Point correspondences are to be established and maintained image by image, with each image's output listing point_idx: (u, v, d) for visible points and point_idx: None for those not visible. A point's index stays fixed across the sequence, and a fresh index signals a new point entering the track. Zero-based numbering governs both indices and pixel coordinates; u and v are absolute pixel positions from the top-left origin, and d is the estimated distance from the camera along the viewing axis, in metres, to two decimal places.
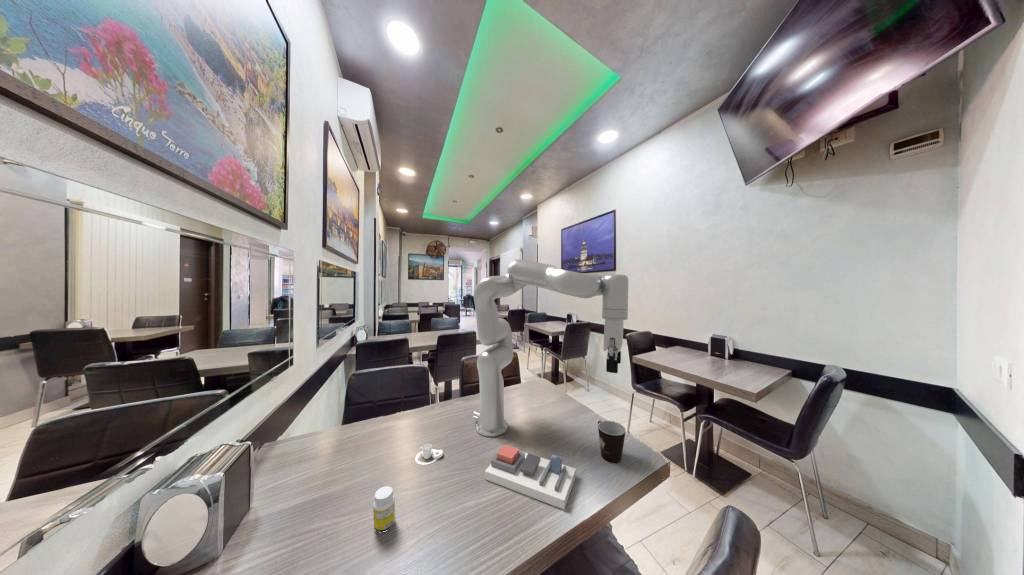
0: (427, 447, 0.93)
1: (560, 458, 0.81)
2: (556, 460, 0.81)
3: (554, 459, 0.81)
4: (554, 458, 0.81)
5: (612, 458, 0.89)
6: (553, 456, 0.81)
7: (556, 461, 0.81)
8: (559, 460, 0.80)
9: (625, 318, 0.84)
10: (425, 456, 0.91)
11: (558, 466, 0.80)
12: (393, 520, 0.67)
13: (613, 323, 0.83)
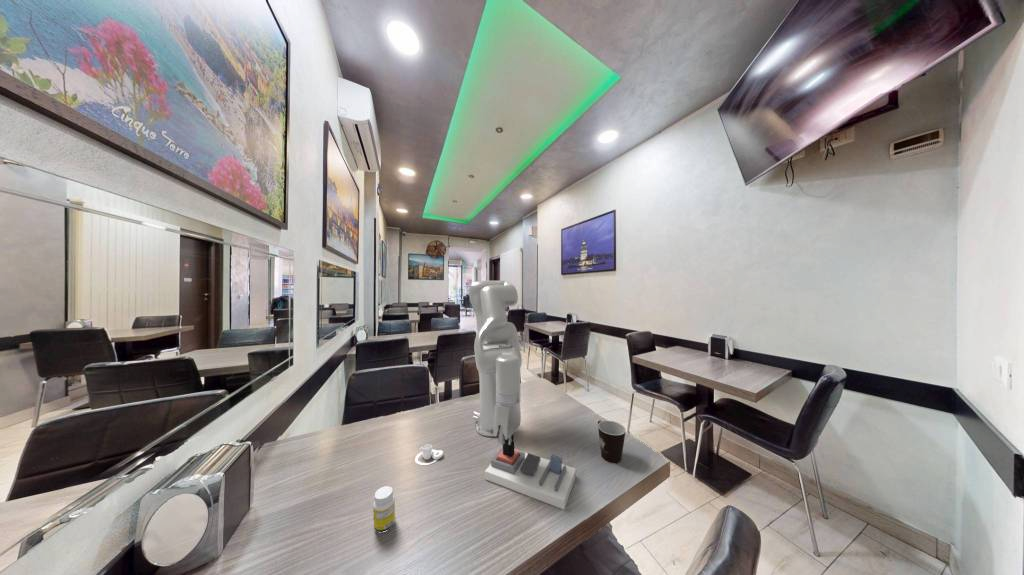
0: (427, 447, 0.93)
1: (560, 458, 0.81)
2: (556, 460, 0.81)
3: (554, 459, 0.81)
4: (554, 458, 0.81)
5: (612, 458, 0.89)
6: (553, 456, 0.81)
7: (556, 461, 0.81)
8: (559, 460, 0.80)
9: (515, 403, 0.82)
10: (425, 456, 0.91)
11: (558, 466, 0.80)
12: (393, 520, 0.67)
13: (501, 410, 0.81)
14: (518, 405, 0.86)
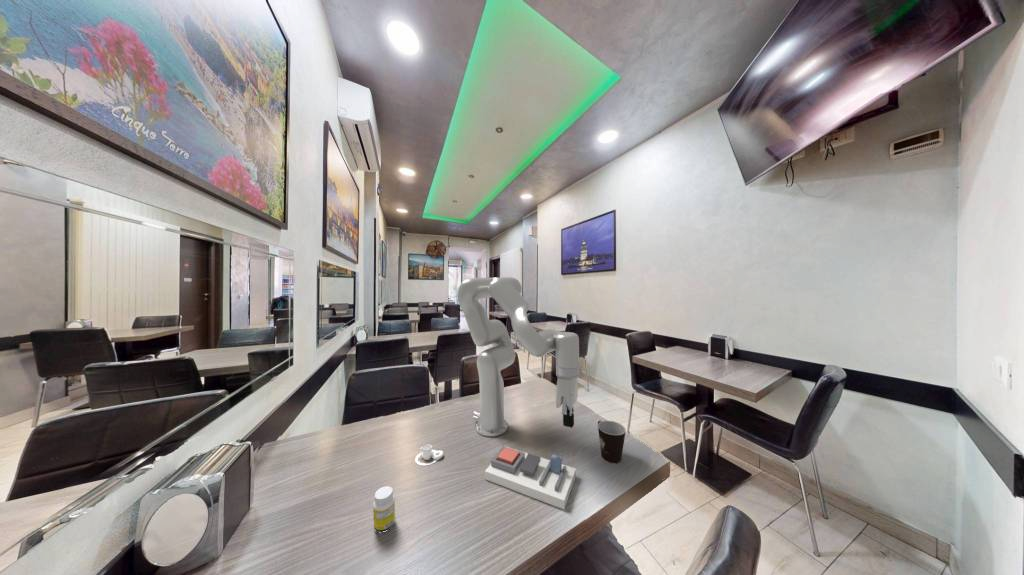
0: (427, 448, 0.93)
1: (560, 458, 0.81)
2: (556, 460, 0.81)
3: (554, 459, 0.81)
4: (554, 458, 0.81)
5: (612, 458, 0.89)
6: (553, 456, 0.81)
7: (556, 461, 0.81)
8: (559, 460, 0.80)
9: (576, 376, 0.87)
10: (425, 457, 0.90)
11: (558, 466, 0.80)
12: (393, 520, 0.67)
13: (564, 382, 0.86)
14: (576, 379, 0.91)
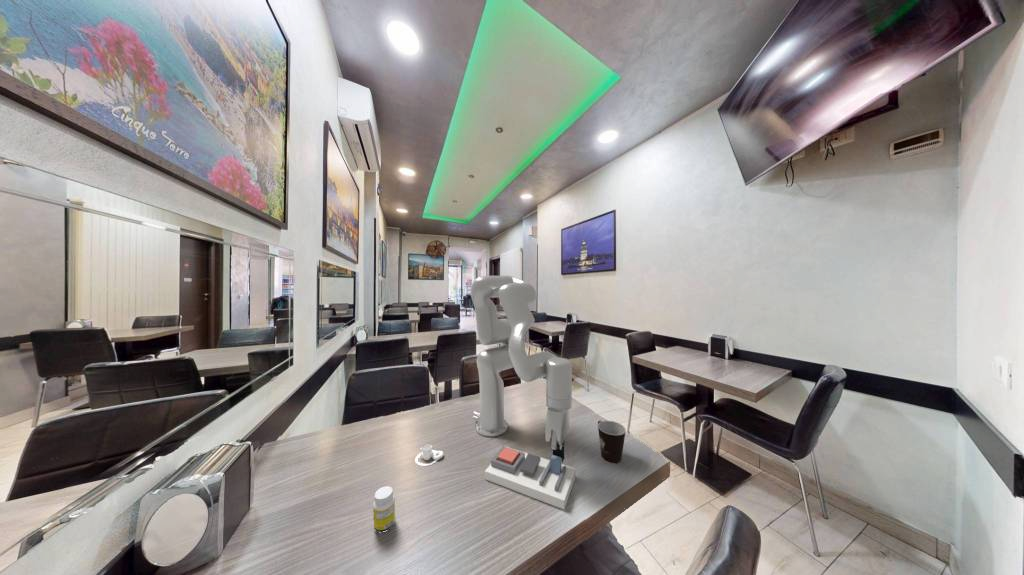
0: (427, 448, 0.93)
1: (560, 458, 0.80)
2: (556, 461, 0.80)
3: (554, 460, 0.81)
4: (554, 458, 0.81)
5: (612, 458, 0.89)
6: (553, 456, 0.81)
7: (556, 461, 0.80)
8: (559, 460, 0.80)
9: (568, 408, 0.80)
10: (425, 457, 0.90)
11: (558, 466, 0.80)
12: (393, 520, 0.67)
13: (554, 415, 0.79)
14: (568, 409, 0.84)
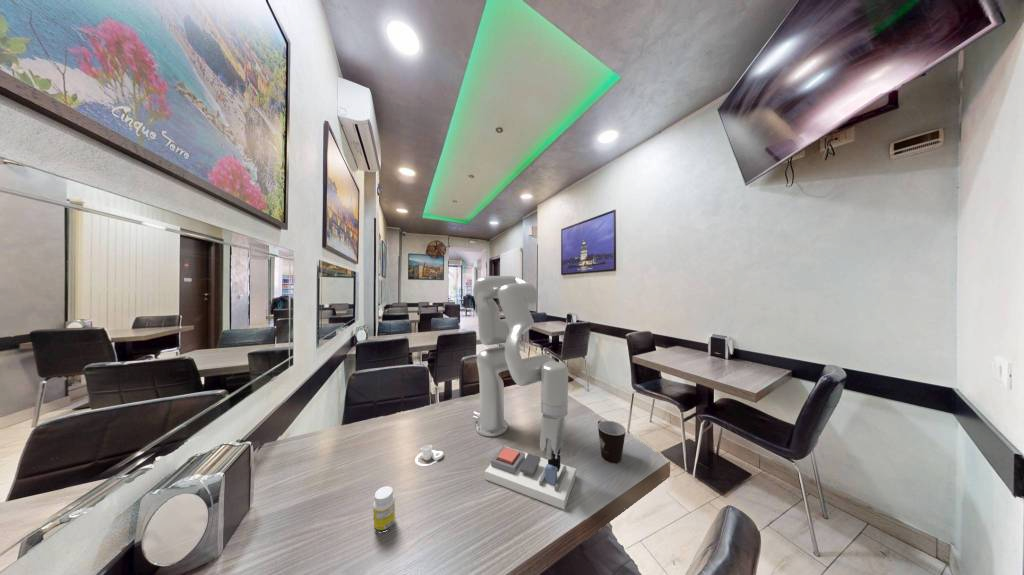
0: (427, 448, 0.93)
1: (555, 468, 0.76)
2: (551, 470, 0.77)
3: (549, 469, 0.77)
4: (549, 468, 0.77)
5: (612, 458, 0.89)
6: (548, 466, 0.77)
7: (551, 471, 0.77)
8: (554, 470, 0.76)
9: (563, 415, 0.76)
10: (425, 457, 0.90)
11: (553, 476, 0.76)
12: (393, 520, 0.67)
13: (549, 422, 0.75)
14: (564, 416, 0.80)
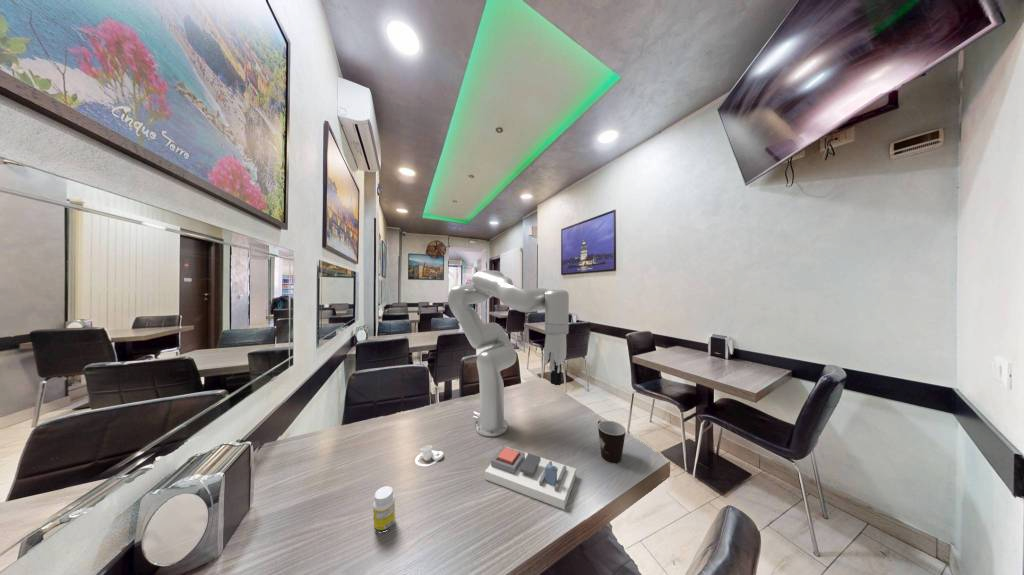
0: (427, 448, 0.93)
1: (555, 468, 0.76)
2: (551, 470, 0.77)
3: (549, 469, 0.77)
4: (549, 468, 0.77)
5: (612, 458, 0.89)
6: (548, 466, 0.77)
7: (551, 471, 0.77)
8: (554, 470, 0.76)
9: (565, 333, 0.86)
10: (425, 458, 0.90)
11: (553, 477, 0.76)
12: (393, 520, 0.67)
13: (552, 338, 0.85)
14: (565, 337, 0.90)
